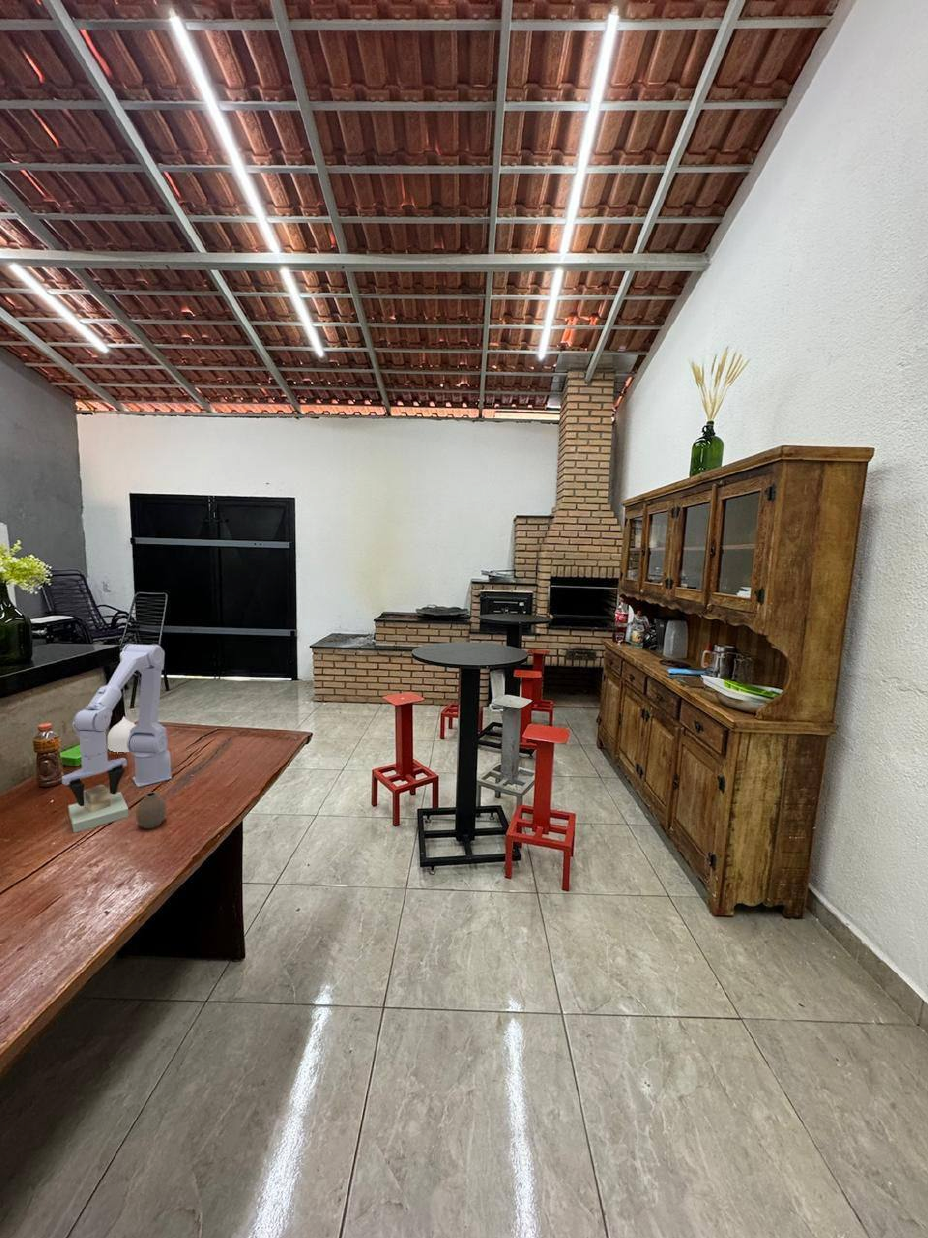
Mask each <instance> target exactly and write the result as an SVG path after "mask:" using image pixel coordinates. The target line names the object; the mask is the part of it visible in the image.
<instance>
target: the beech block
mask: <svg viewBox="0 0 928 1238" xmlns="http://www.w3.org/2000/svg"><path fill="white" fill-rule="evenodd" d="M110 795H111V793H110V787H108V786H106V785H104V784H98V785H96V786H93V787H90V788H87V789H84V802H85V804H84V808H85V809H87V810H88V811H90V812H91V813H93V812H95V811H98V810H101V809H103V808H106V807H109V806H111V803H110Z"/></svg>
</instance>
